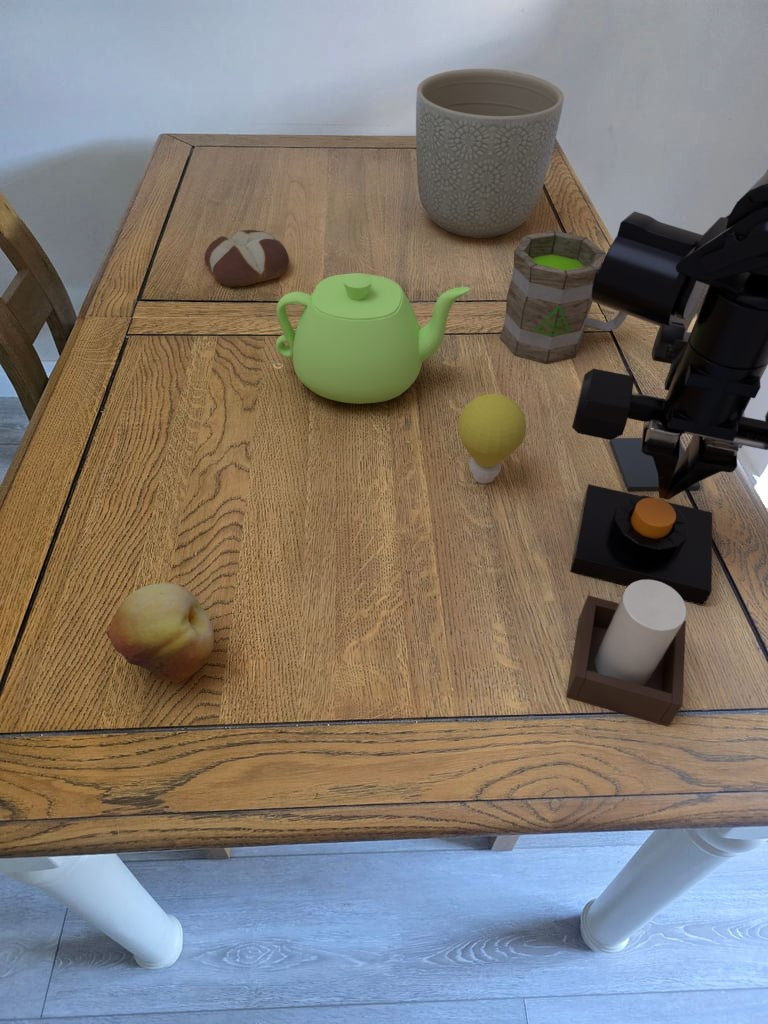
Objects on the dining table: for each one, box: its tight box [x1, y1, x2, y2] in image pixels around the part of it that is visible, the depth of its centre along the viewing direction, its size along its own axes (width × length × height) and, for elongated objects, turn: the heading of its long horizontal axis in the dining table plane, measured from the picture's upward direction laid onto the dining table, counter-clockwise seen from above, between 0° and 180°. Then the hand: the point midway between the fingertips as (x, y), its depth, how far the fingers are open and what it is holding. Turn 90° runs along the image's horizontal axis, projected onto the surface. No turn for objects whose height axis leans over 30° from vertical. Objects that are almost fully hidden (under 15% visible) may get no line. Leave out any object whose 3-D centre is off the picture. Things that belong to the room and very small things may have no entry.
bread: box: [204, 229, 290, 288], centre depth 101 cm, size 11×11×5 cm
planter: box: [415, 68, 565, 239], centre depth 107 cm, size 21×21×19 cm
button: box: [631, 497, 676, 539], centre depth 65 cm, size 4×4×2 cm
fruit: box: [106, 582, 215, 683], centre depth 56 cm, size 8×8×8 cm
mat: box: [608, 437, 702, 492], centre depth 76 cm, size 8×8×1 cm
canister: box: [595, 580, 688, 686], centre depth 56 cm, size 5×5×9 cm
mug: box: [499, 230, 628, 365], centre depth 88 cm, size 16×11×12 cm
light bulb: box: [457, 393, 527, 485], centre depth 71 cm, size 7×7×10 cm
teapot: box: [275, 272, 470, 405], centre depth 81 cm, size 22×15×13 cm
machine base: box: [570, 483, 713, 606], centre depth 67 cm, size 12×10×4 cm
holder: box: [565, 595, 687, 727], centre depth 58 cm, size 8×8×4 cm
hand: (663, 495), depth 63 cm, fingers closed
